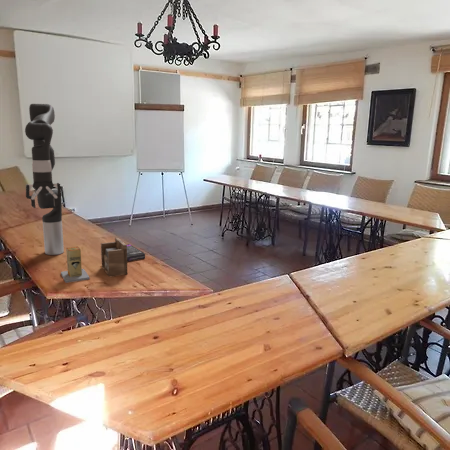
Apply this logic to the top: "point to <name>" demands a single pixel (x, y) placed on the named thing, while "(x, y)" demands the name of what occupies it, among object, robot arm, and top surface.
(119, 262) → the offcut rack
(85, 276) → the rubber mat
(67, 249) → the shoe polish box
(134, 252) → the box
